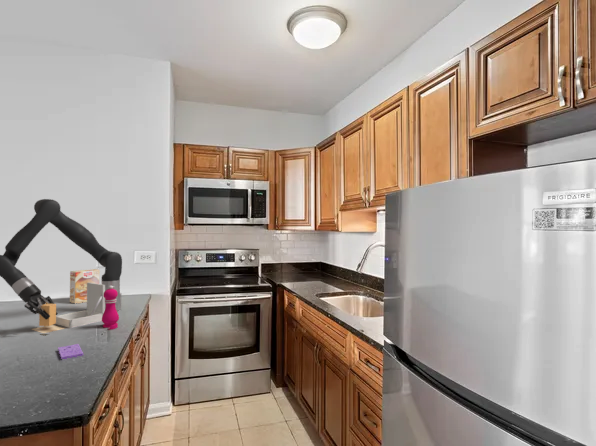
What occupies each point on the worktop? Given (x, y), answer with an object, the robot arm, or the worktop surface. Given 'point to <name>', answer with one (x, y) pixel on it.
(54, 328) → the board
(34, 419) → the worktop surface
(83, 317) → the equipment case
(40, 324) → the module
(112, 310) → the pepper mill
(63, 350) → the sponges
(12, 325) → the worktop surface
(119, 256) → the robot arm
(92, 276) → the coffeecake box
